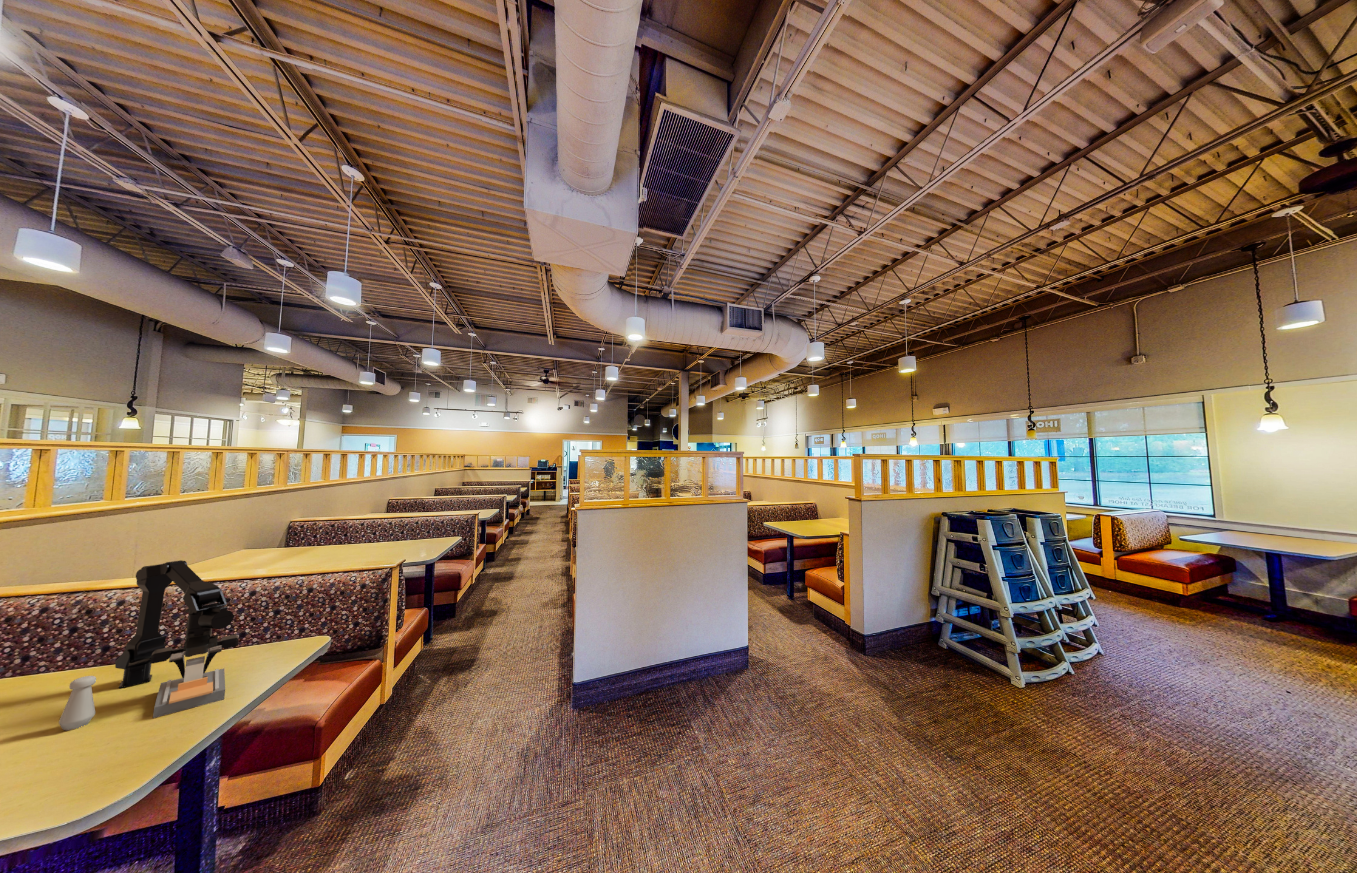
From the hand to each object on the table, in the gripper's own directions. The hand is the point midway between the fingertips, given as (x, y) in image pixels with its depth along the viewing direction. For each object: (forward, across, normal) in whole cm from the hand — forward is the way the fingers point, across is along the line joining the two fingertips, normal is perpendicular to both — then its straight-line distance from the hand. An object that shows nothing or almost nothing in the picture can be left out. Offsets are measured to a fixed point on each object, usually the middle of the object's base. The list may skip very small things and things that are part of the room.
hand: (193, 675), depth 135 cm
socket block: (+5, 0, -4) cm, 7 cm away
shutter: (+2, 0, -12) cm, 12 cm away
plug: (+2, 0, 0) cm, 2 cm away
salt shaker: (+5, -21, -5) cm, 22 cm away
